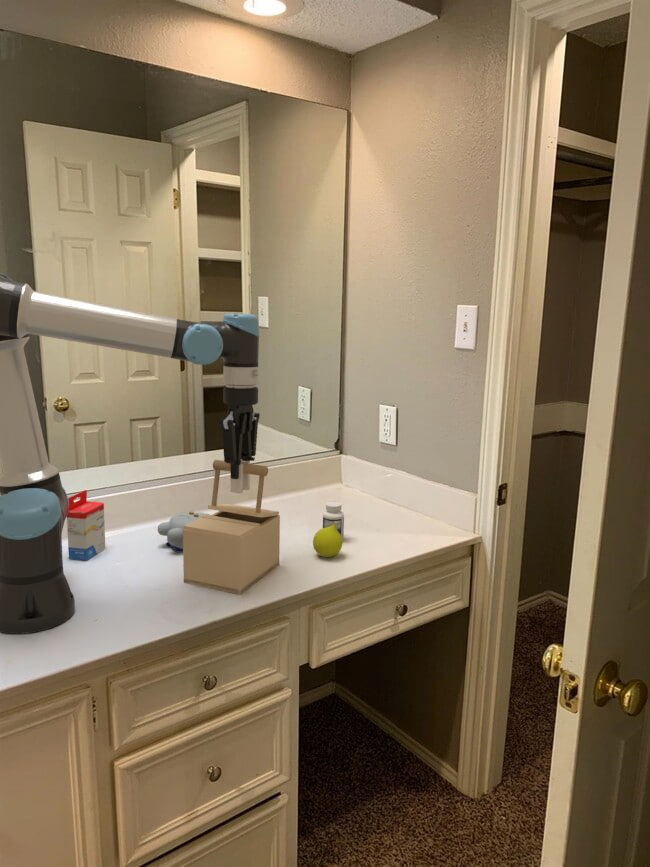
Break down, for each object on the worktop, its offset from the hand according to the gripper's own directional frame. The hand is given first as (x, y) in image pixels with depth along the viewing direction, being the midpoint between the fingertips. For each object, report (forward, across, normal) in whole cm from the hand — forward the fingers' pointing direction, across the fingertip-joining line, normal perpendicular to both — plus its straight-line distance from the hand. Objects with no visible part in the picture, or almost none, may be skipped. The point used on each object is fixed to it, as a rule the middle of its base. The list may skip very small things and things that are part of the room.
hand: (240, 490), depth 146 cm
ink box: (+19, -8, +37) cm, 42 cm away
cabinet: (+18, -3, 0) cm, 19 cm away
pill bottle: (+18, +27, -12) cm, 35 cm away
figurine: (+19, +10, +17) cm, 27 cm away
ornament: (+18, +16, -15) cm, 29 cm away
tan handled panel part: (+5, +1, 0) cm, 5 cm away
